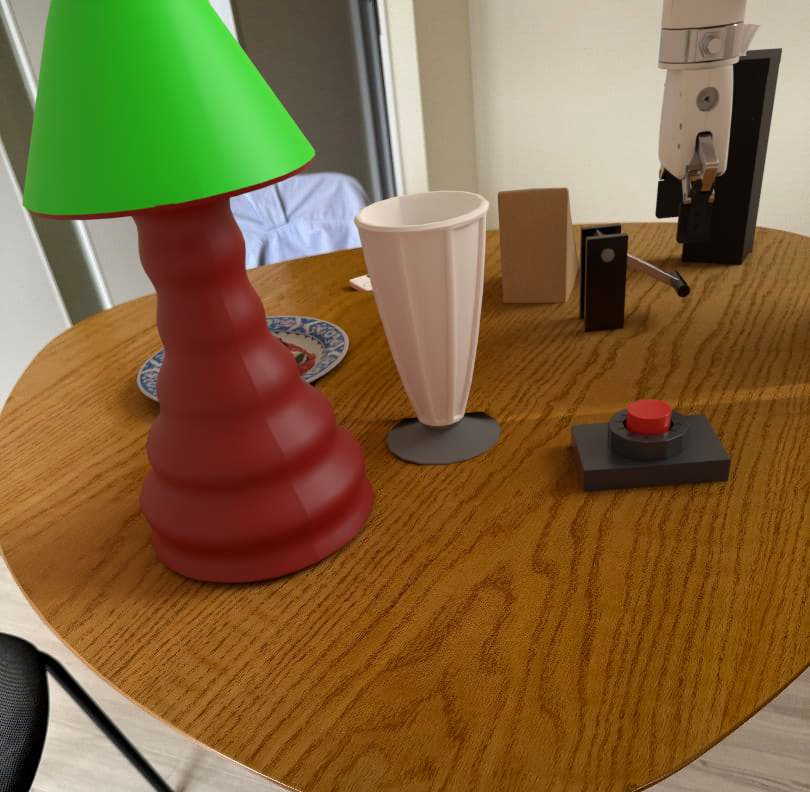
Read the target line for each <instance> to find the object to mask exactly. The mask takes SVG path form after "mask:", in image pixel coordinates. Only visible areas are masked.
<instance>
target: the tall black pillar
mask: <svg viewBox="0 0 810 792" xmlns="http://www.w3.org/2000/svg"><path fill="white" fill-rule="evenodd" d="M761 26H762V25H761V24H755V23H744V24H743V32H742V39H741V47H740V54H739V61H738V62H737V63H735V64H732V65H733V99H732V114H731V126H730V137H729V147H728V158H727V167H726V171H725V172H724V173H723V174H722V175H721V176H716V177H715V181H716V182H715V183H716V187H715V188H714V201H713V206H712V214H711V222H710V229H709V237H708V240H707V241H705V242H694V243H683V244H682V251H681V263H694V264H711V265H713V264H714V265H715V264H716V265H731V266H732V265H733V266H735V265H736V266H742V264H743V263H744V262H745V260H746V258H747V257H748V255H749V254H753V250H754V243H755V235H756V229H757V221H758V215H759V208H760V201H761V195H762V187H763V181H764V173H765V166H766V160H767V152H768V146H769V139H770V132H771V126H772V118H773V112H774V106H775V98H776V91H777V86H778V85H777V84H778V77H779V70H780V64H781V61H782V53H783V47H779V48H778V47H777V48H776V47H775V48H764V49H749V47H750V45H751V43H752V42H753V39H754V38H755V36H756V34H757V33H758V31H759V29H760V28H761ZM748 49H749V50H748ZM698 170H700V169H698ZM694 183H695V181H691V190H692V187H693V185H694Z"/></svg>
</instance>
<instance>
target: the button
mask: <svg viewBox="0 0 810 792" xmlns="http://www.w3.org/2000/svg"><path fill="white" fill-rule="evenodd" d="M626 408H627V423H626V427H627V429H628V430H629V431H631V432H633V433H635V434H641V435H647V436H648V435H660V434H662V433H665V432H667V431H668V430H669V429H670V421H671V409H672V406H671V405H670V404H669V403H668V402H665V401H663V400H659V399H654V398H653V399H651V398H646V399H639V400H635V401H633V402H631V403H630V404H629V405H628V406H627V407H626Z"/></svg>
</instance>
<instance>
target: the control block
mask: <svg viewBox="0 0 810 792" xmlns="http://www.w3.org/2000/svg"><path fill="white" fill-rule="evenodd" d="M627 408H628V407H626V408H624V409H621V410H618V411H616V412H615V413H614V414H613V415H612V416H611V418H610V419H609V420H608V421H607V422H594V423H583V424H572V425H570V448H571V450H572V455H573V459H574V462H575V466H576V469H577V473H578V477H579V481H580V484H581V488H582V491H583V492H584V493H588V492H600V491H601V492H602V491H614V490H625V489H626V490H627V489H640V488H653V487H666V486H677V485H692V484H704V483H705V484H706V483H717V482H719V483H720V482H728V481H729V476H730V468H731V462H732V458H731V457H730V455H729V453H728V451H727V450H726V448H725V446H724V445H723V443H722V441H721V439H720V438H719V436H718V434H717V432H716V431H715V429H714V427H713V426H712V424H711V422H710V420H709V419H708V417H707V415H706V414H705V413H701V414H691V415H685V414H683V413H681V412H679V411H677V410H674V409H673V408H671V421H670V429H669V430H668V431H667V432H665V433H662V434H660V435H648V436H647V435H641V434H635V433H633V432H631V431H629V430H628V429H627V427H626V423H627Z"/></svg>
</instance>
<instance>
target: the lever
mask: <svg viewBox="0 0 810 792" xmlns="http://www.w3.org/2000/svg"><path fill="white" fill-rule="evenodd" d="M602 235H607V234H605V233H603V232H601V231H599V230H596V232H595V234H594V235H593V236H602ZM627 267H630V268H632V269H633V270H636V271H638V272H640V273H642V274H644V275H646V276H648V277H651V278H653V279H655V280H657V281H659V282H661V283H662V284H665V285H667V286H669V287H671V288H672V289H673V290H674V292H675V293H676V295H677V296H678V297H679V298H686V297H688V296H689V295H690V293H691V287H690V285H689V284H688V283H687V282H686V279H684V278H683V276H682V275H681V274H680V273H679V271H677V270H671V271H670V272H668V271H665V270H663V269H661V268H659V267H658V266H656V265H653V264H651V263H650V262H647V261H645V260H643V259H641V258H639V257H637V256H634V255H633V254H631V253H628V254H627Z"/></svg>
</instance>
